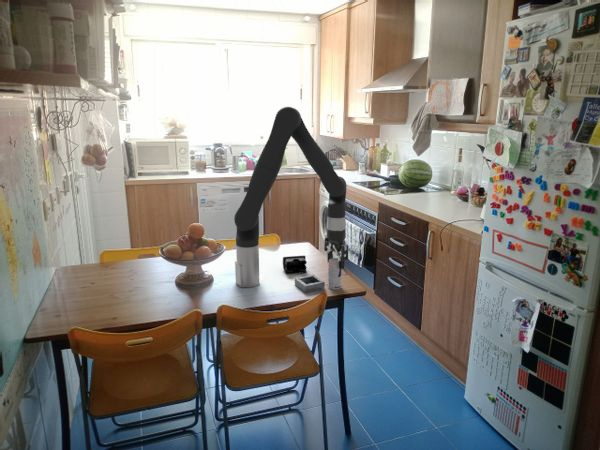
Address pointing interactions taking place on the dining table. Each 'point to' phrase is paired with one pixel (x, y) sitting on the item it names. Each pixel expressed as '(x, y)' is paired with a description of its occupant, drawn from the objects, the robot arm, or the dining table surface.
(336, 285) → the energy drink
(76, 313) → the dining table surface
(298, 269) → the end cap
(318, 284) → the metal collar
